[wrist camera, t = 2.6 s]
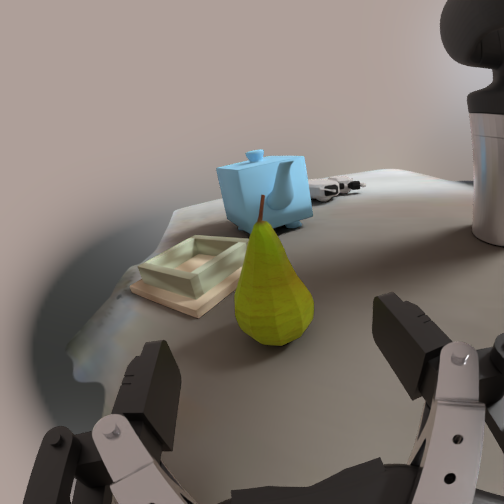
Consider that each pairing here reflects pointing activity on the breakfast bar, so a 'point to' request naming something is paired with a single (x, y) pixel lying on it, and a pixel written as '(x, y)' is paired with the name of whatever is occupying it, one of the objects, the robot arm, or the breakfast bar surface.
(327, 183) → the robot toy
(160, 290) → the tray
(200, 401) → the breakfast bar surface
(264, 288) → the fruit
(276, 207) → the teapot
